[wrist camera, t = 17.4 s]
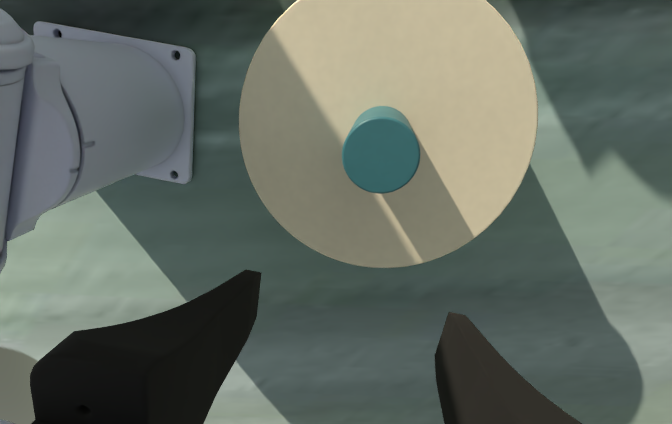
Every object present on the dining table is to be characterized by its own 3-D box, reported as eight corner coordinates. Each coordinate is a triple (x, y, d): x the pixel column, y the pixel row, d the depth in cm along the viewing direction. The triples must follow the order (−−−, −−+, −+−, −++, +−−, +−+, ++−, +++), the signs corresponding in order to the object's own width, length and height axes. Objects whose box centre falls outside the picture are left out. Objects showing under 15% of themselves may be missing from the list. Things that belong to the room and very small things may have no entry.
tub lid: (237, 231, 20) (191, 281, 15) (259, -51, 16) (205, -103, 11) (479, 280, 20) (509, 348, 15) (575, 1, 15) (664, -30, 10)
